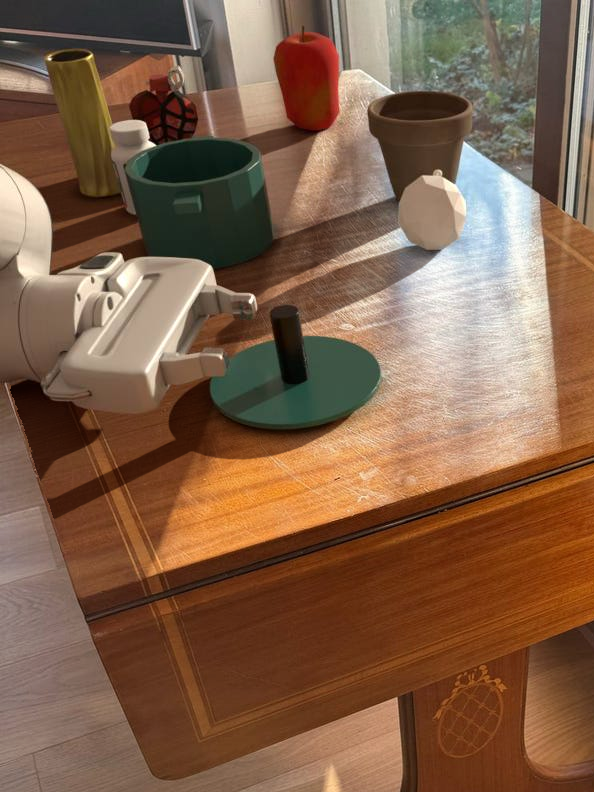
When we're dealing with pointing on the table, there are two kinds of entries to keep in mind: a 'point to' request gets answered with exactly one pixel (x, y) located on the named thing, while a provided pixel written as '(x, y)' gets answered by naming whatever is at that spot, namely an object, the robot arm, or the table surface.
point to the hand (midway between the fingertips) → (241, 333)
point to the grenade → (165, 109)
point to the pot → (201, 200)
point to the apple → (308, 79)
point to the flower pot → (420, 134)
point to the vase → (84, 119)
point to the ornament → (432, 212)
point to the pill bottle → (127, 152)
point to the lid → (295, 378)
